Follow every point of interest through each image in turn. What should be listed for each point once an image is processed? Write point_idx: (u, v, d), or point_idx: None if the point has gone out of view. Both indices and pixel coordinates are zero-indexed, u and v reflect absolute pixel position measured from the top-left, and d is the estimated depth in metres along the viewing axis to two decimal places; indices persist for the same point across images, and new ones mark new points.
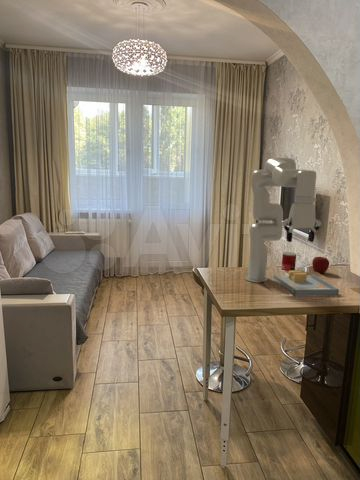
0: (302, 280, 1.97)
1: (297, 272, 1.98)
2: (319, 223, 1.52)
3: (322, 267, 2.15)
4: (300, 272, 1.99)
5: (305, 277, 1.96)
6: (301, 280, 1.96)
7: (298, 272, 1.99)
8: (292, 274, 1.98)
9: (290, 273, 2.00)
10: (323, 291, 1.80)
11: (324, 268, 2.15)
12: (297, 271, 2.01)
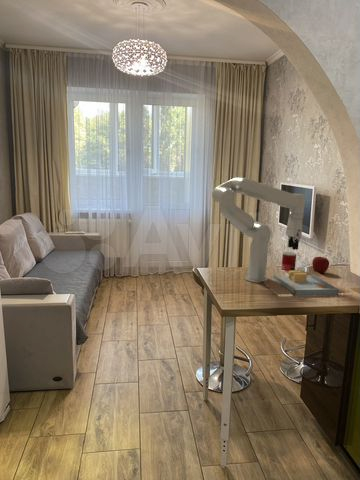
0: (302, 280, 1.97)
1: (297, 272, 1.98)
2: None
3: (322, 267, 2.15)
4: (300, 272, 1.99)
5: (305, 277, 1.96)
6: (301, 280, 1.96)
7: (298, 272, 1.99)
8: (292, 274, 1.98)
9: (290, 273, 2.00)
10: (323, 291, 1.80)
11: (324, 268, 2.15)
12: (297, 271, 2.01)
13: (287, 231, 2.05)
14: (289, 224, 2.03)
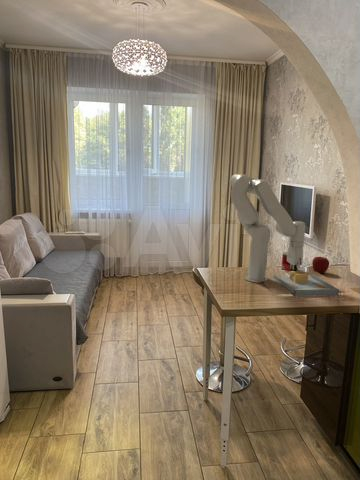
0: (303, 281, 1.96)
1: (298, 273, 1.97)
2: None
3: (322, 267, 2.15)
4: (301, 272, 1.98)
5: (306, 278, 1.96)
6: (302, 280, 1.96)
7: (299, 272, 1.99)
8: (293, 275, 1.97)
9: (291, 274, 1.99)
10: (323, 291, 1.80)
11: (324, 268, 2.15)
12: (298, 271, 2.00)
13: (287, 258, 2.05)
14: (290, 252, 2.02)
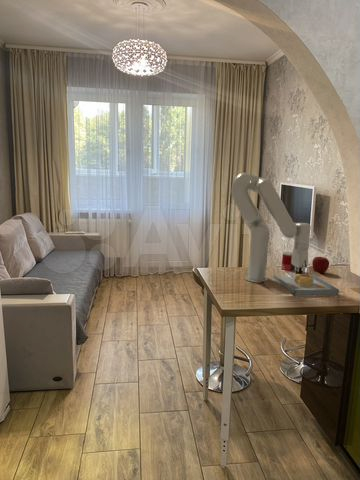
0: (308, 284, 1.90)
1: (303, 276, 1.92)
2: None
3: (322, 267, 2.15)
4: (306, 276, 1.93)
5: (311, 281, 1.90)
6: (307, 284, 1.90)
7: (305, 275, 1.93)
8: (298, 278, 1.92)
9: (296, 277, 1.94)
10: (323, 291, 1.80)
11: (324, 268, 2.15)
12: (303, 275, 1.94)
13: (292, 261, 2.00)
14: (294, 254, 1.97)
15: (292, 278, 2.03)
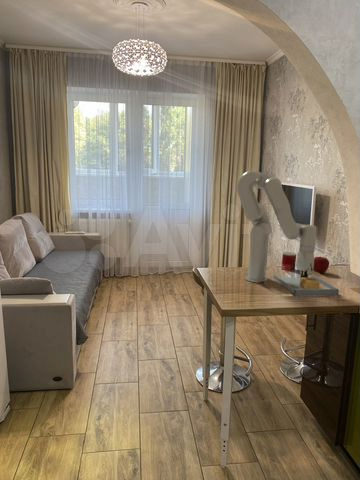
0: (314, 288, 1.84)
1: (309, 279, 1.86)
2: None
3: (322, 267, 2.15)
4: (312, 279, 1.87)
5: (318, 285, 1.84)
6: (314, 287, 1.84)
7: (311, 279, 1.87)
8: (304, 281, 1.85)
9: (301, 280, 1.88)
10: (323, 291, 1.80)
11: (324, 268, 2.15)
12: (309, 278, 1.88)
13: (297, 264, 1.94)
14: (300, 257, 1.91)
15: (292, 278, 2.03)
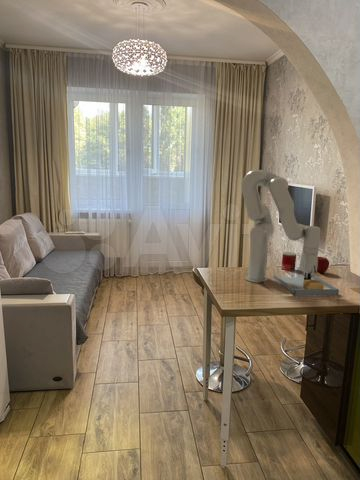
0: None
1: (313, 282, 1.82)
2: None
3: (322, 267, 2.15)
4: (316, 281, 1.83)
5: (322, 287, 1.81)
6: None
7: (314, 281, 1.84)
8: (308, 284, 1.82)
9: (305, 282, 1.84)
10: (323, 291, 1.80)
11: (324, 268, 2.15)
12: (313, 280, 1.85)
13: (300, 266, 1.90)
14: (303, 259, 1.87)
15: (292, 278, 2.03)
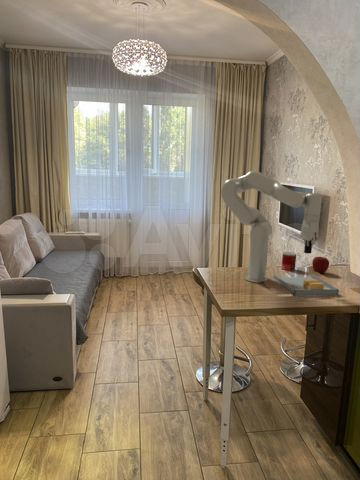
0: None
1: (313, 282, 1.82)
2: None
3: (322, 267, 2.15)
4: (316, 281, 1.83)
5: (322, 287, 1.81)
6: None
7: (314, 281, 1.84)
8: (308, 284, 1.82)
9: (305, 282, 1.84)
10: (323, 291, 1.80)
11: (324, 268, 2.15)
12: (313, 280, 1.85)
13: (301, 234, 1.89)
14: (304, 226, 1.86)
15: (292, 278, 2.03)
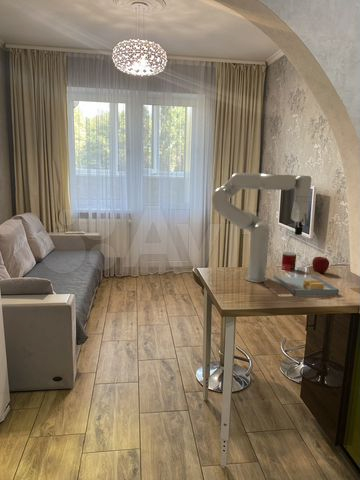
0: None
1: (313, 282, 1.82)
2: None
3: (322, 267, 2.15)
4: (316, 281, 1.83)
5: (322, 287, 1.81)
6: None
7: (314, 281, 1.84)
8: (308, 284, 1.82)
9: (305, 282, 1.84)
10: (323, 291, 1.80)
11: (324, 268, 2.15)
12: (313, 280, 1.85)
13: (292, 216, 1.93)
14: (294, 208, 1.90)
15: (292, 278, 2.03)
